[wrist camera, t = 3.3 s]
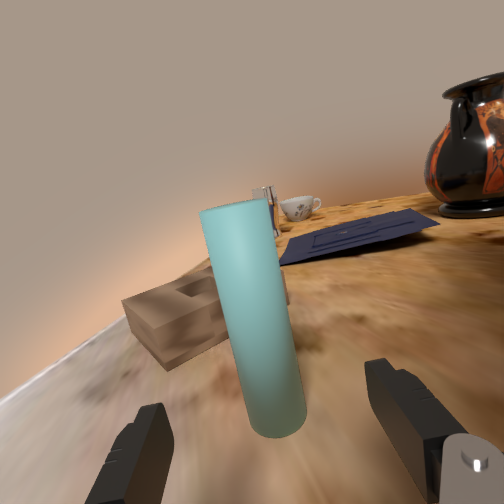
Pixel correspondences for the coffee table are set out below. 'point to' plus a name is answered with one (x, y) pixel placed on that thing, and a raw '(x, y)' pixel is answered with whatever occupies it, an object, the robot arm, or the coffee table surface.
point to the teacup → (299, 207)
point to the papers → (355, 234)
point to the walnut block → (179, 318)
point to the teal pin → (256, 314)
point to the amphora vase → (470, 151)
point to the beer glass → (270, 206)
